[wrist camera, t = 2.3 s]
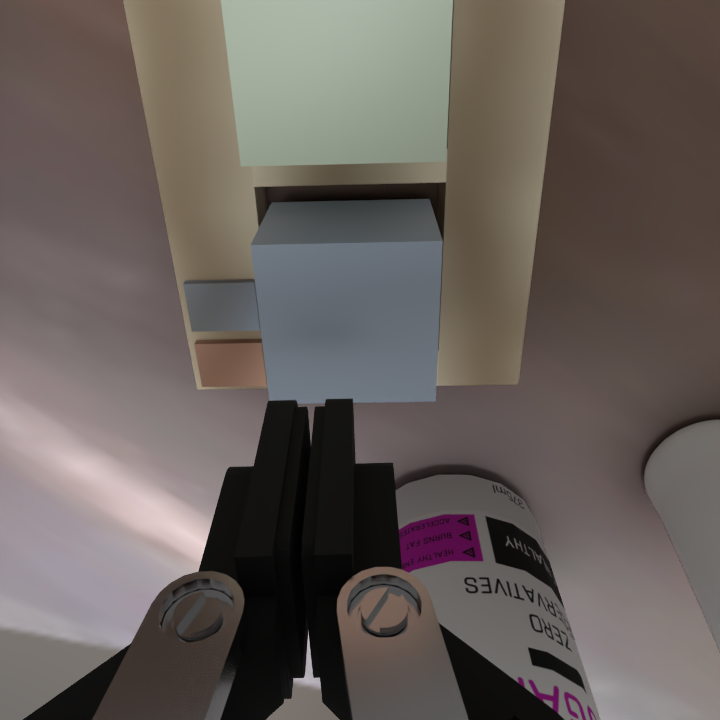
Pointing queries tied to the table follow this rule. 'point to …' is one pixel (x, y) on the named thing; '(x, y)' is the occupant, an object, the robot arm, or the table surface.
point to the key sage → (339, 80)
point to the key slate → (349, 300)
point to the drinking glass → (691, 508)
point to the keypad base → (455, 177)
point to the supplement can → (493, 583)
